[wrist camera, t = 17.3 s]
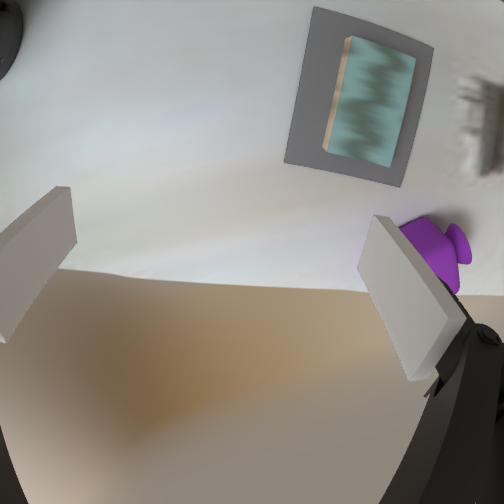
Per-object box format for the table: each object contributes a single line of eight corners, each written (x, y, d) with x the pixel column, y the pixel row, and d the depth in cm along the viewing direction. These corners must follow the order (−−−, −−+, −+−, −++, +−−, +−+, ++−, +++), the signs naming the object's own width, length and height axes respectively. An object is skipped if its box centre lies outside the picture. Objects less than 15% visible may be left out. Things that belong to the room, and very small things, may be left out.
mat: (283, 161, 39) (284, 162, 38) (313, 7, 29) (314, 6, 28) (398, 186, 40) (399, 187, 40) (431, 48, 30) (433, 48, 30)
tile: (327, 152, 35) (352, 35, 28) (322, 146, 37) (345, 38, 30) (389, 167, 35) (416, 58, 28) (380, 161, 38) (405, 59, 31)
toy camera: (458, 242, 44) (490, 277, 36) (392, 290, 49) (414, 332, 40) (435, 191, 40) (473, 221, 32) (361, 245, 45) (385, 286, 36)
